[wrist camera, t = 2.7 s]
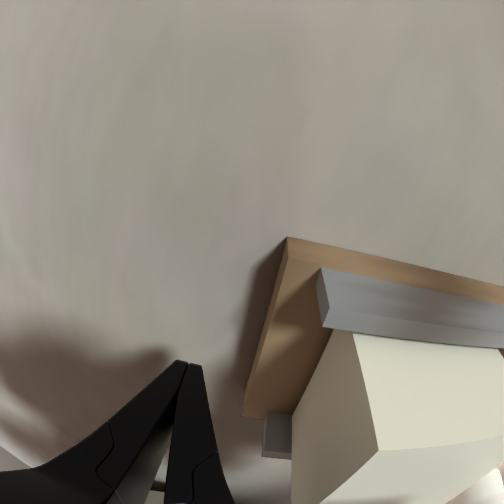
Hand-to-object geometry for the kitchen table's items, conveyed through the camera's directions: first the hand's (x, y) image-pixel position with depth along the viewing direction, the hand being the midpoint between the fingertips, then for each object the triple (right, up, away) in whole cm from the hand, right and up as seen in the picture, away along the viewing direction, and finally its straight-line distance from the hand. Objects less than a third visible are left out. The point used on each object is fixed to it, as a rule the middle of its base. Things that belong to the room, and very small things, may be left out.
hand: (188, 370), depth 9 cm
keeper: (+7, -1, +1) cm, 7 cm away
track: (+14, -2, +3) cm, 15 cm away
